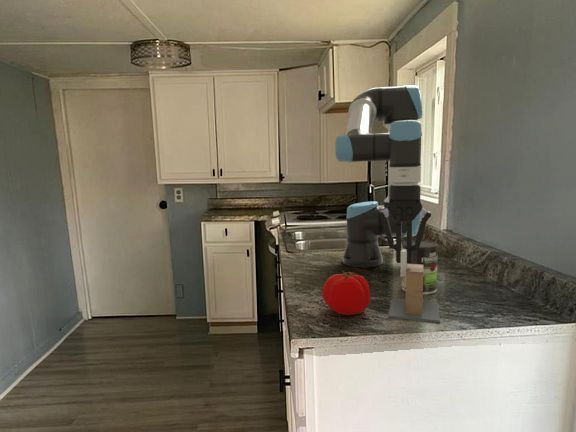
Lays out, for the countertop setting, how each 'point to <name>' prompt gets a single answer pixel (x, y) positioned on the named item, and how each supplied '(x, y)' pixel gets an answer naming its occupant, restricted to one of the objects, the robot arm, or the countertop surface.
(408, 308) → the tan rectangular block
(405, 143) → the robot arm
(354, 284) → the tomato
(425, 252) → the coffee can
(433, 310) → the rubber mat
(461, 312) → the countertop surface
